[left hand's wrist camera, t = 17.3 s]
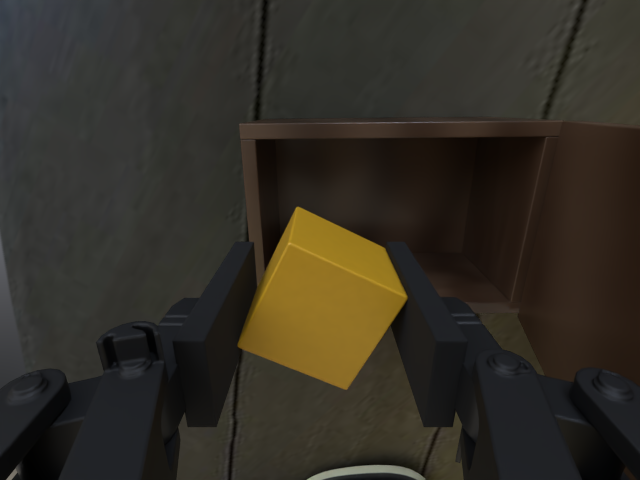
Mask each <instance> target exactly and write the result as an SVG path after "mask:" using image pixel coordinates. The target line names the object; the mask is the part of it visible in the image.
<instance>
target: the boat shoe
mask: <svg viewBox="0 0 640 480" xmlns="http://www.w3.org/2000/svg"><path fill="white" fill-rule="evenodd" d="M307 480H426V479H425V478H424V477H423V476H421V475H420V474H419V473H417V472H415V471H413V470H411V469H408V468H405V467H400V466H391V465H366V466H354V467H346V468H339V469H334V470H329V471H325V472H322V473H319V474H317V475H314V476H312V477H310V478H309V479H307Z"/></svg>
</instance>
